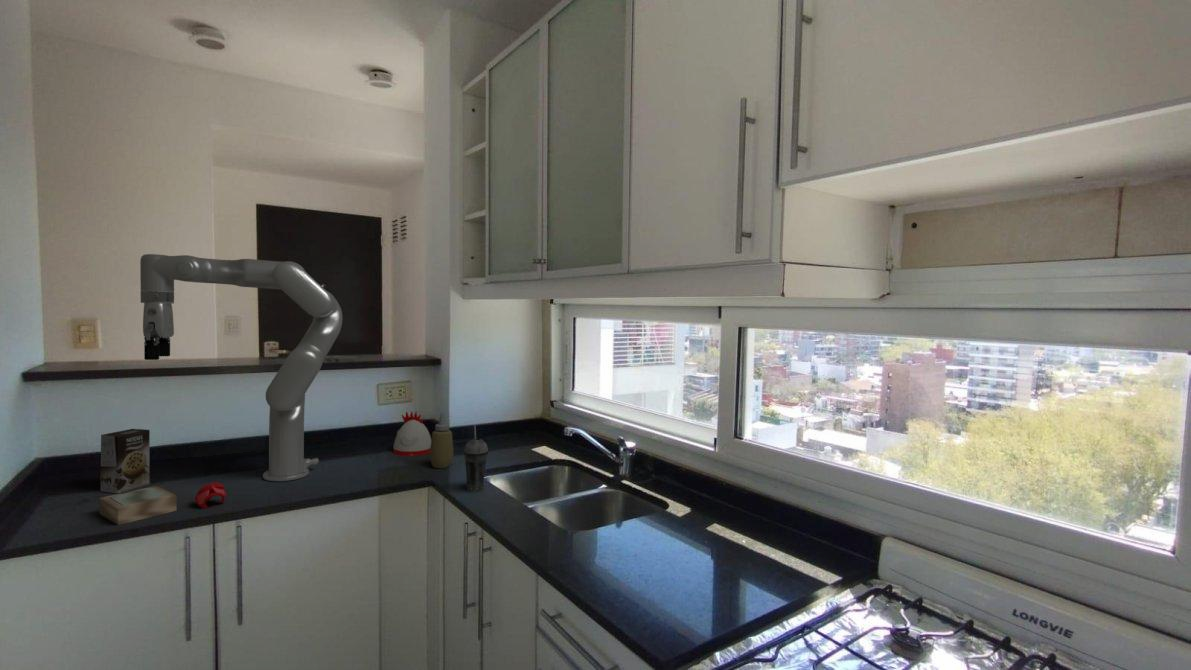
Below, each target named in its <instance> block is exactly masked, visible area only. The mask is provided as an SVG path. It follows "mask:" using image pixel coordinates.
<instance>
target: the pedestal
mask: <svg viewBox="0 0 1191 670" xmlns="http://www.w3.org/2000/svg"><path fill="white" fill-rule="evenodd" d="M177 497H178V495H177V494H175V493H173V492H171V491H168V490H166V489H164V488H162V487H160V486H158V485H154V486H150V487H145V488H140V489H136V490H129V491H125V492H121V493H115V494H112V495H108V496H102V497H99V498H98V501H99V505H98V507H99V508H98V509H99V512H98V513H99V514H100V516H102V517H104V518H106V519H107V520H109V521H111V522H112V523H114V524H115V525H117V526H120V525H124V524H128V523H133V522H136V521H139V520H145V519H148V518H151V517H157V516H160V515H164V514H168V513H172V512H177V509H178V508H177V507H178V506H177V505H178V504H177V503H178V502H177V501H178V500H177Z"/></svg>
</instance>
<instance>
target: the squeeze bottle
mask: <svg viewBox="0 0 1191 670" xmlns="http://www.w3.org/2000/svg"><path fill="white" fill-rule="evenodd" d="M434 426H435V427H434V431H432V433H431V448H430V453H429V457H428V458H429V459H430V463H431V466H432V468H435V469H446V468H449V467H451V464H452V462H453V459H454V454H455V453H454V443H453V442H454V441H453V431H451V430H450V424H448V423H447V421H446V416H445V414H444V413H441V414H440V417H439V421H438V423H437V424H435V425H434Z"/></svg>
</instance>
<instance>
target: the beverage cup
mask: <svg viewBox="0 0 1191 670" xmlns="http://www.w3.org/2000/svg"><path fill="white" fill-rule="evenodd" d="M476 427H477V426H476V424H473V434H474V435H473V437H474V438H472V439H470V440H469V441H468V442H466V444H465V447H464V450H463V455H464V460H465V461H464V462H465V475H466V487H467V492H471V493H479V492H482V491H483V488H484V483H485V473H486V466H487V458H488V455H489V448H488V444H487V443H486V442H485V441H484V440H483V439H481V438H478V437H477V431H476V430H477V428H476ZM481 487H482V488H481ZM471 488H472V489H471ZM476 488H478V489H476Z"/></svg>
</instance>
